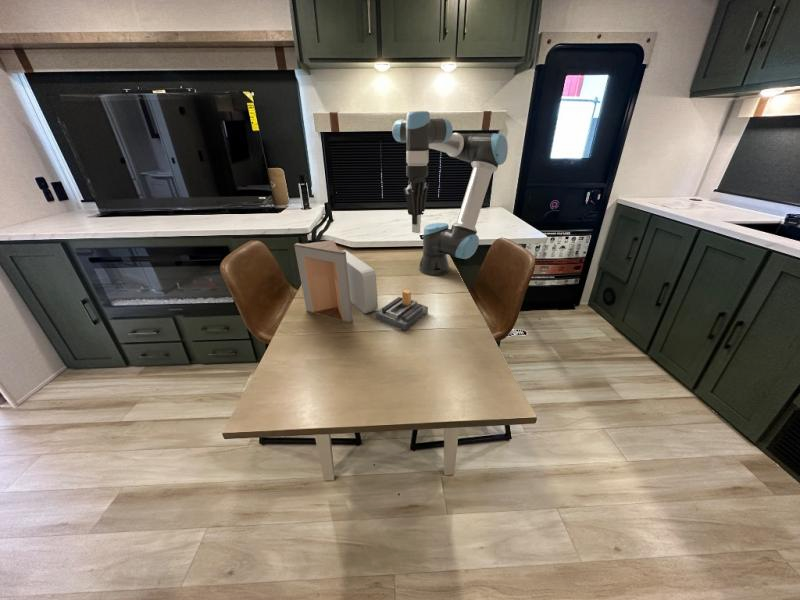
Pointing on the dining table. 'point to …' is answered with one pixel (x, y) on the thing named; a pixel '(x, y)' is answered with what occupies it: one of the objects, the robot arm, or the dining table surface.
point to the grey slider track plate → (407, 315)
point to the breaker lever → (406, 298)
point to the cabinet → (324, 279)
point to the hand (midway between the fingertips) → (416, 232)
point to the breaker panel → (400, 315)
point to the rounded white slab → (361, 284)
